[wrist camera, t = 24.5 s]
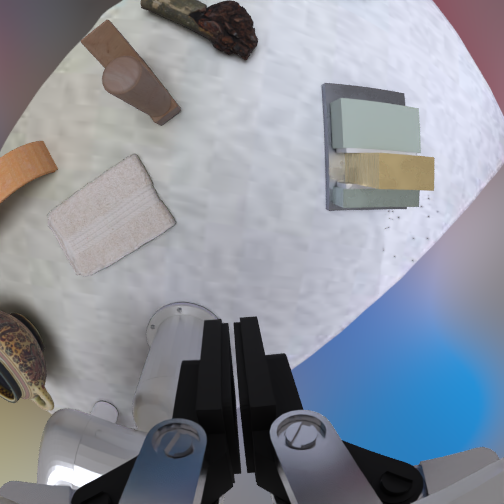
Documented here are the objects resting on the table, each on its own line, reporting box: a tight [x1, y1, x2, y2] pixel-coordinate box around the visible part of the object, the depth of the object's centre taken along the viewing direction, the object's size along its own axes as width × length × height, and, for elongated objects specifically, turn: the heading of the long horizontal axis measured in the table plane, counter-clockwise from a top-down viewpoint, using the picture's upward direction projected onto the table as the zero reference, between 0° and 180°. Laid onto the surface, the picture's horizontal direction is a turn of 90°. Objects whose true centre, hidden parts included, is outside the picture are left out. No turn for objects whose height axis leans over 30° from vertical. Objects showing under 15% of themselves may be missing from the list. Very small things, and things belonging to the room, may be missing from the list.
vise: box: [322, 83, 420, 211], centre depth 37 cm, size 18×13×6 cm
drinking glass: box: [90, 401, 118, 423], centre depth 43 cm, size 7×7×15 cm
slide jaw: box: [330, 98, 421, 156], centre depth 36 cm, size 7×12×4 cm, turn 93°
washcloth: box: [47, 154, 176, 276], centre depth 39 cm, size 12×18×3 cm, turn 117°
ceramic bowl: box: [0, 311, 54, 411], centre depth 37 cm, size 24×18×15 cm
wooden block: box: [81, 20, 181, 125], centre depth 27 cm, size 4×11×18 cm, turn 35°
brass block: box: [345, 153, 434, 191], centre depth 35 cm, size 8×4×10 cm, turn 93°
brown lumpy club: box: [141, 0, 258, 60], centre depth 30 cm, size 18×7×6 cm, turn 53°
